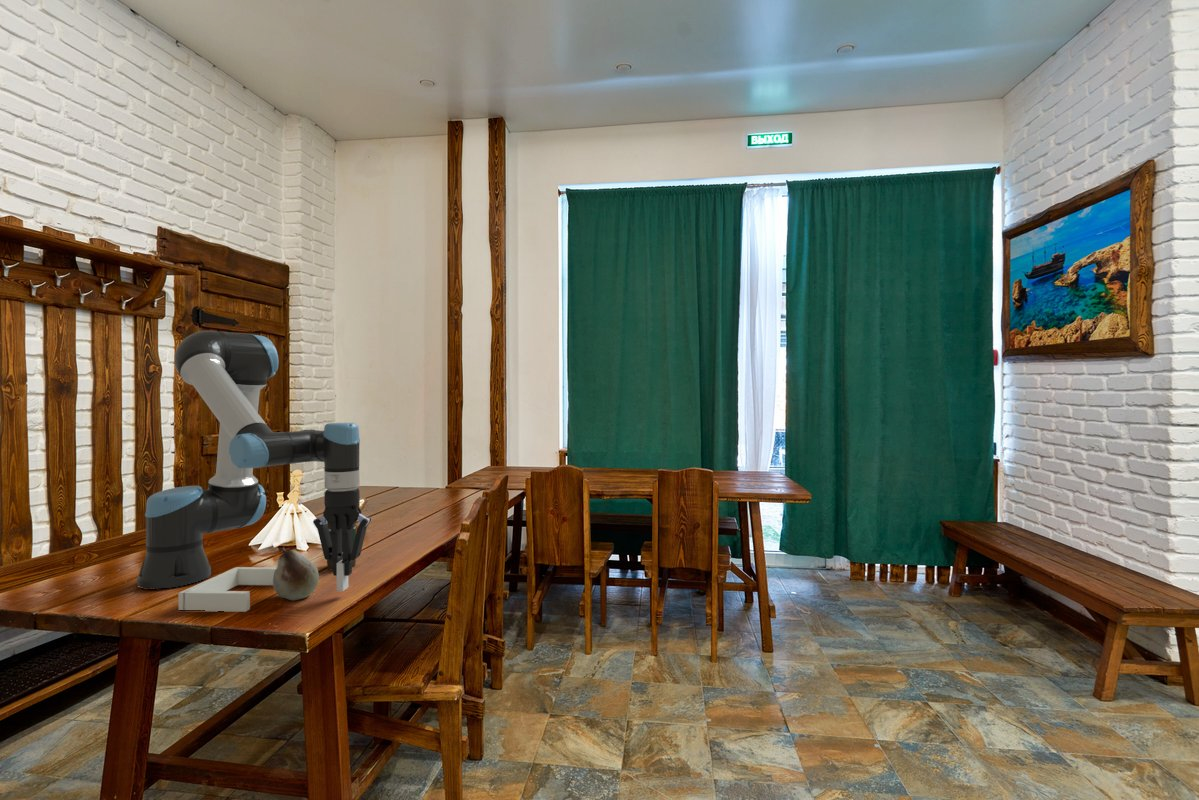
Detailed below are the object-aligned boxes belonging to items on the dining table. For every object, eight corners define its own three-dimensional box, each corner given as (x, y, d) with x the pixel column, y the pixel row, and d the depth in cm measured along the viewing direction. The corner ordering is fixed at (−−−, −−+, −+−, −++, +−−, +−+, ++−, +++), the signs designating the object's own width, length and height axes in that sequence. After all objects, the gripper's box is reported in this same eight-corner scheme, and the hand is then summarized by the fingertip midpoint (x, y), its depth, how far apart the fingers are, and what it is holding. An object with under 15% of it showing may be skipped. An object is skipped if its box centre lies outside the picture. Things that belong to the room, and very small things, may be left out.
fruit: (268, 596, 135) (267, 545, 135) (310, 587, 141) (310, 538, 141) (281, 607, 127) (280, 554, 127) (325, 597, 134) (325, 546, 134)
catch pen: (178, 611, 125) (178, 592, 125) (236, 582, 144) (236, 567, 144) (245, 611, 125) (245, 593, 125) (294, 583, 144) (294, 567, 144)
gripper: (306, 491, 130) (306, 594, 130) (362, 491, 130) (362, 594, 130) (323, 486, 138) (323, 583, 138) (376, 486, 137) (376, 584, 138)
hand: (342, 588), depth 134 cm, fingers closed
